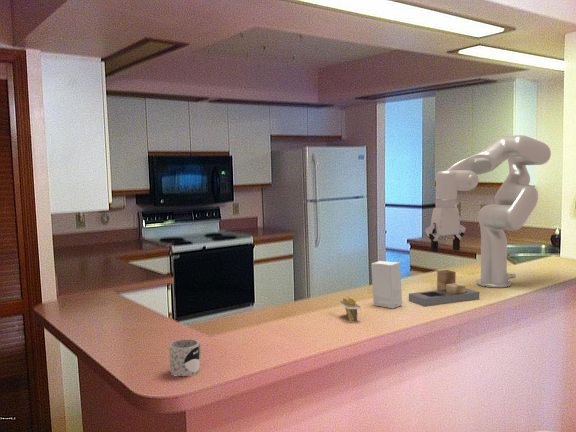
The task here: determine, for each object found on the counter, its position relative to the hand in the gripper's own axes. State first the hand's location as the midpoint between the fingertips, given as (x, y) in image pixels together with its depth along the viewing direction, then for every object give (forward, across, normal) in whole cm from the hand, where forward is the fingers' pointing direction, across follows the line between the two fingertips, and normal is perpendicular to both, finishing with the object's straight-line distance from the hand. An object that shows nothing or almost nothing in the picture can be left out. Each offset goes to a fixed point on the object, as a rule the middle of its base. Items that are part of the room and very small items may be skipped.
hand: (445, 250), depth 195 cm
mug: (+18, +102, +38) cm, 110 cm away
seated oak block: (+16, +2, +9) cm, 18 cm away
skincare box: (+16, +29, +7) cm, 34 cm away
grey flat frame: (+16, +7, +9) cm, 20 cm away
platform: (+17, +48, +16) cm, 54 cm away
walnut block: (+16, -1, 0) cm, 16 cm away
